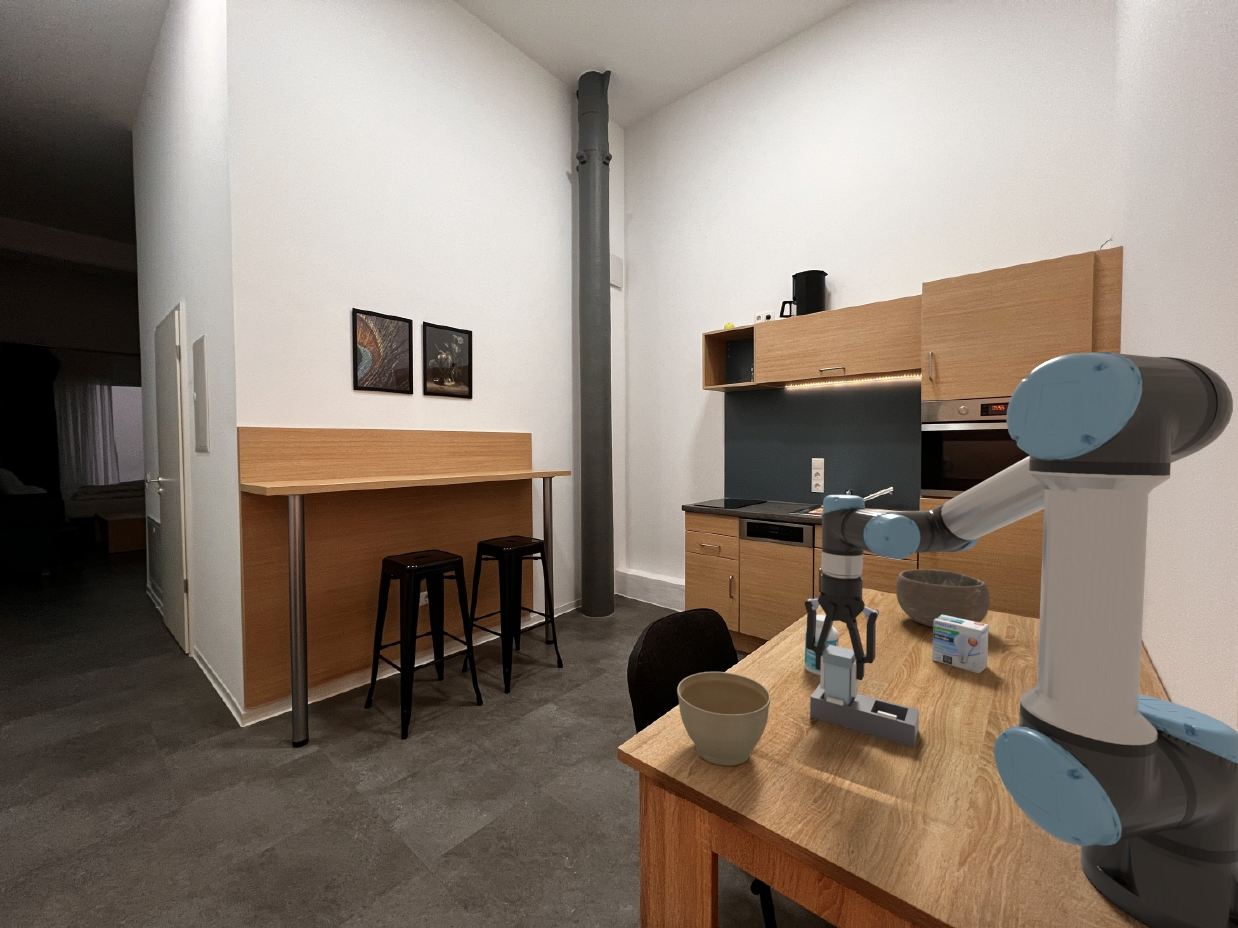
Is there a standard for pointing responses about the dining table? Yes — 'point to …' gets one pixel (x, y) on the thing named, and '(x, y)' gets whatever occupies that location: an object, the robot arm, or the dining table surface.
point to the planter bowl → (723, 715)
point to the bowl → (941, 595)
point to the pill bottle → (809, 654)
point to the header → (868, 716)
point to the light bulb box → (960, 643)
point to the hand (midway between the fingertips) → (838, 690)
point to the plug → (838, 673)
